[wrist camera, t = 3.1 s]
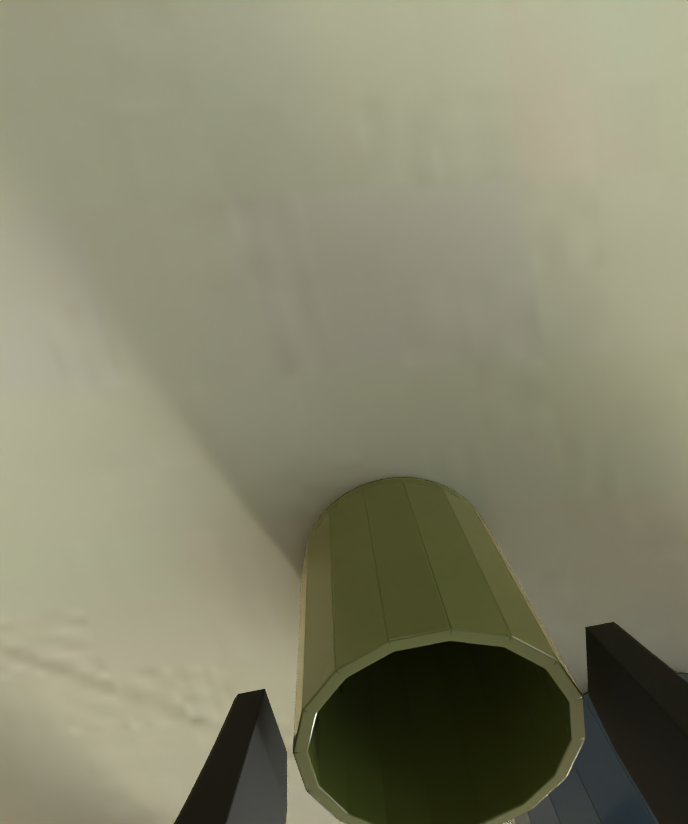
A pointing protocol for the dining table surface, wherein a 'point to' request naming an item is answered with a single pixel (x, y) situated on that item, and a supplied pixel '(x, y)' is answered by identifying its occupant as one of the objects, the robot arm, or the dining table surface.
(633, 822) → the stack big
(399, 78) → the dining table surface
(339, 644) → the olive cup
